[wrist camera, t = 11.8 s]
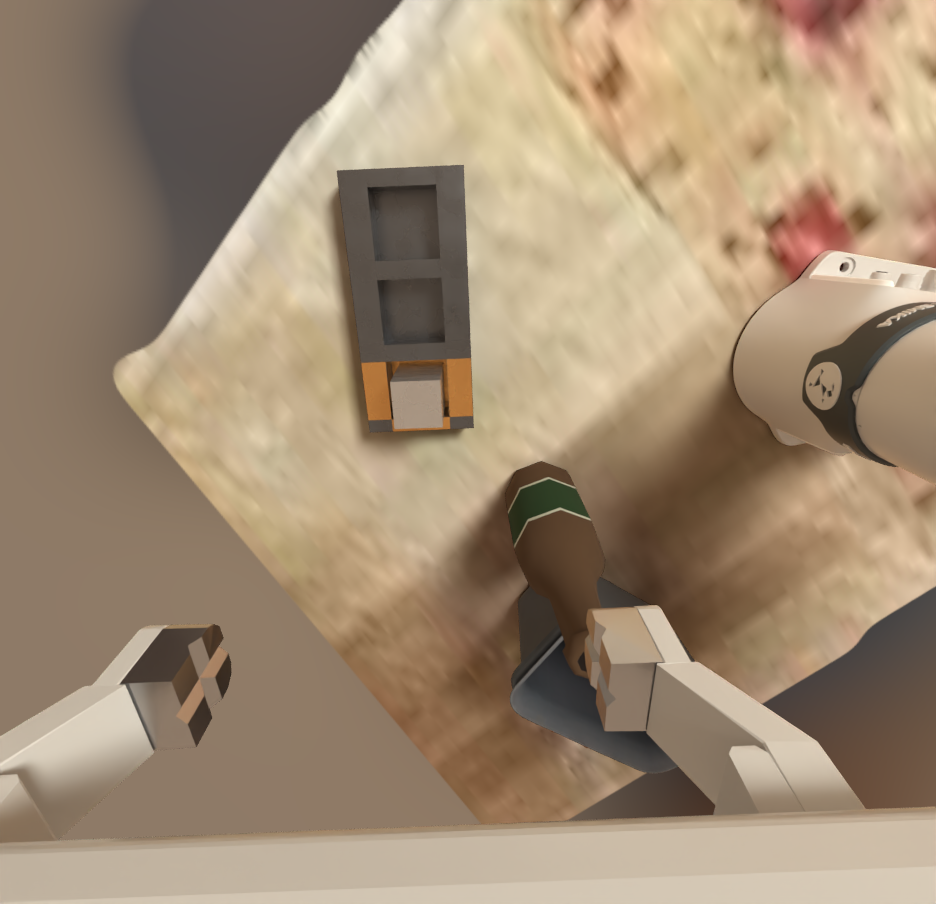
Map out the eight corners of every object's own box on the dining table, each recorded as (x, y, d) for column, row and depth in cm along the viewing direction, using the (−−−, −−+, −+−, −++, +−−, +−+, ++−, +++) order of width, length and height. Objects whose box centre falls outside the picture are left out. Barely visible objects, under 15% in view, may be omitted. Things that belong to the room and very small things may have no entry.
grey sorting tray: (463, 171, 41) (463, 164, 38) (472, 416, 50) (473, 428, 47) (346, 176, 41) (336, 170, 38) (375, 420, 50) (369, 432, 47)
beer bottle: (504, 459, 52) (537, 616, 30) (577, 458, 52) (664, 614, 30) (503, 522, 55) (532, 707, 33) (571, 521, 55) (647, 705, 33)
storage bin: (692, 605, 60) (757, 706, 47) (612, 684, 65) (650, 795, 52) (554, 525, 55) (583, 612, 42) (479, 616, 60) (484, 720, 47)
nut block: (443, 362, 47) (440, 380, 41) (445, 403, 49) (442, 427, 42) (399, 363, 47) (390, 381, 41) (403, 405, 49) (394, 429, 42)
